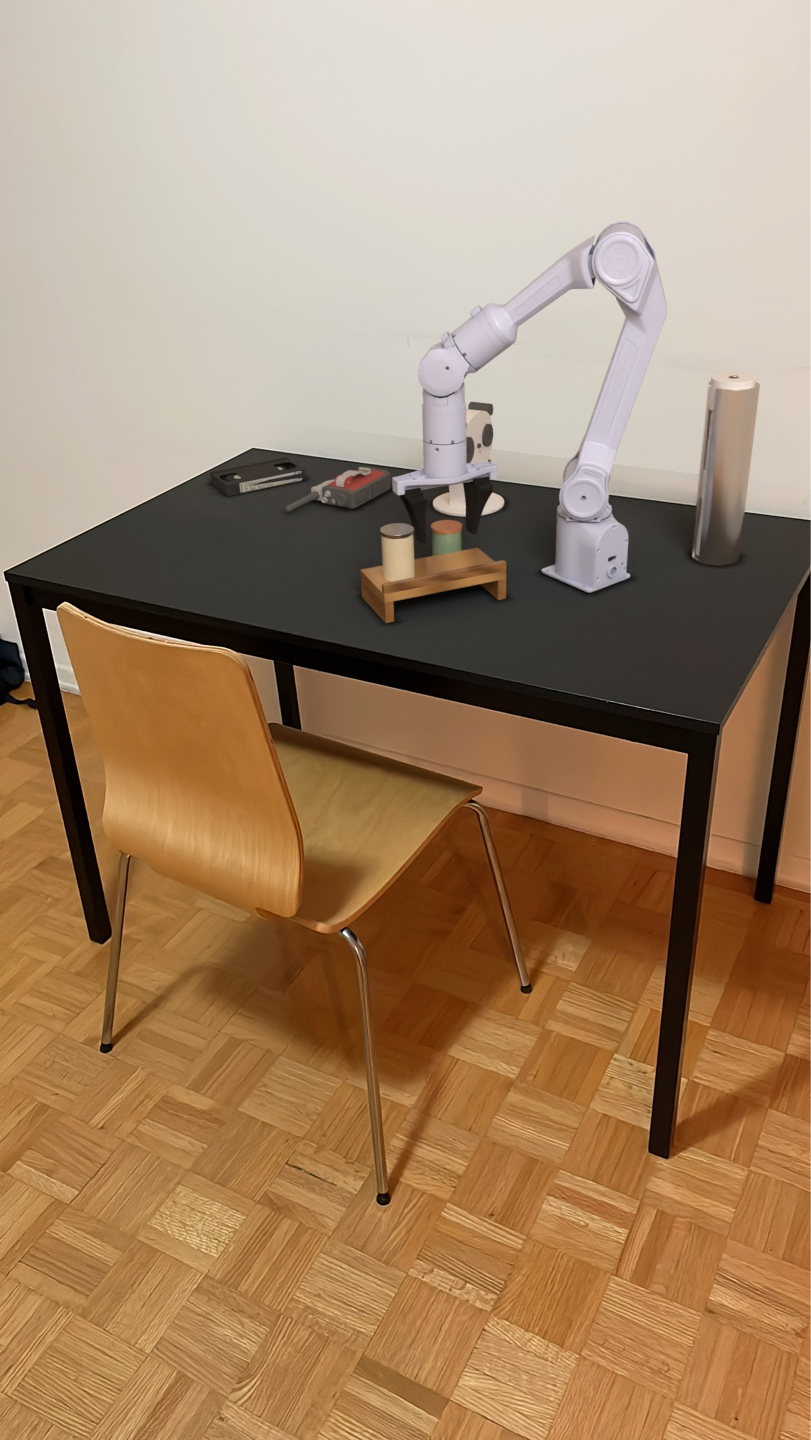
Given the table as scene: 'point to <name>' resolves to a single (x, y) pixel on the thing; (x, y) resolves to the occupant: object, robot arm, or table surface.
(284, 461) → the vhs tape
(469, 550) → the shelf
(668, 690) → the table surface
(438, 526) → the sage tin
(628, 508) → the table surface
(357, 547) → the table surface
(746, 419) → the silver metal cylinder
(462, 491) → the panda figurine
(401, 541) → the cream tin
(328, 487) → the walkie-talkie
